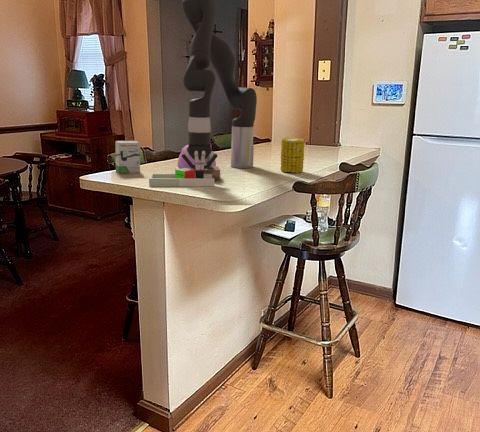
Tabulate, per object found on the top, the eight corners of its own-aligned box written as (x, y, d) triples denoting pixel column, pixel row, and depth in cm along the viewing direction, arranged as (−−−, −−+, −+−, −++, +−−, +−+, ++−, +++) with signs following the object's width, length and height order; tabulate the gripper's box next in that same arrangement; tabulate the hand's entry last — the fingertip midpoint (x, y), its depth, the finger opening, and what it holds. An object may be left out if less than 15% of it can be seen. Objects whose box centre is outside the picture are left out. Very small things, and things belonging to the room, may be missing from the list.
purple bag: (199, 176, 180) (200, 144, 177) (165, 172, 186) (165, 141, 183) (225, 168, 199) (226, 140, 196) (194, 165, 206) (194, 137, 203)
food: (303, 174, 200) (297, 179, 191) (277, 166, 203) (270, 170, 194) (313, 140, 194) (308, 143, 185) (287, 131, 197) (280, 134, 188)
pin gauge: (211, 178, 177) (211, 151, 174) (211, 179, 174) (212, 152, 172) (204, 178, 176) (205, 151, 174) (205, 179, 174) (205, 152, 171)
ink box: (118, 173, 180) (117, 142, 177) (115, 171, 184) (114, 140, 181) (141, 172, 184) (140, 141, 181) (137, 170, 188) (136, 140, 185)
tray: (178, 180, 170) (178, 173, 169) (179, 186, 160) (179, 178, 160) (150, 180, 168) (150, 173, 168) (149, 186, 159) (149, 178, 158)
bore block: (217, 176, 180) (217, 166, 179) (219, 180, 172) (220, 169, 171) (196, 176, 178) (196, 166, 177) (197, 180, 171) (198, 169, 170)
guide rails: (211, 180, 172) (211, 173, 171) (214, 186, 162) (214, 178, 161) (178, 180, 170) (178, 173, 169) (179, 186, 160) (179, 178, 160)
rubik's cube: (184, 185, 161) (184, 171, 160) (175, 183, 165) (174, 169, 163) (195, 183, 165) (195, 169, 164) (185, 181, 168) (185, 167, 167)
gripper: (217, 129, 166) (217, 178, 171) (179, 129, 164) (180, 178, 169) (219, 131, 159) (219, 182, 164) (180, 131, 157) (181, 182, 162)
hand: (199, 180), depth 166 cm, fingers closed
